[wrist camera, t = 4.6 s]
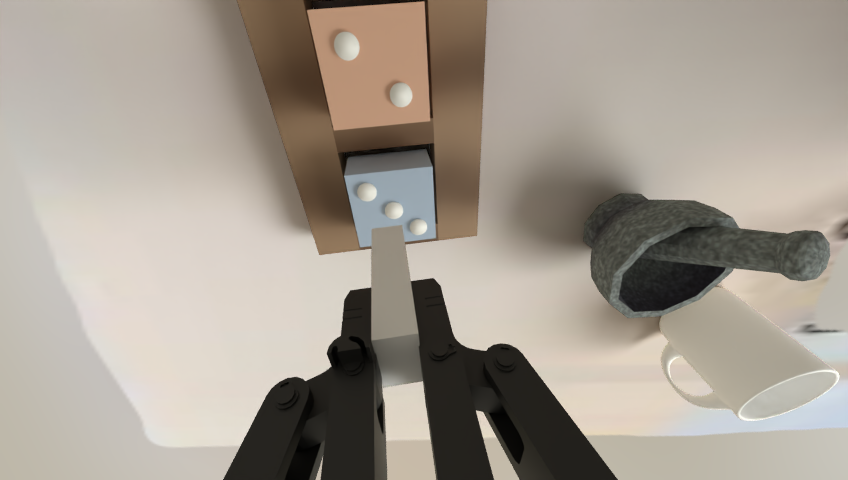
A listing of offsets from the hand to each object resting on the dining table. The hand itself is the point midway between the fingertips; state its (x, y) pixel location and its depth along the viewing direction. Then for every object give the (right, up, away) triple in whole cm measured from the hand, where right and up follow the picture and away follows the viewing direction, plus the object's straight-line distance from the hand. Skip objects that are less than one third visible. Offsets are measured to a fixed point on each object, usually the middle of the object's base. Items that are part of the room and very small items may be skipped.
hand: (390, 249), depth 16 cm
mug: (+33, -9, +23) cm, 41 cm away
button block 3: (0, +4, +6) cm, 7 cm away
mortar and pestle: (+19, +3, +12) cm, 23 cm away
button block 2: (-1, +10, +1) cm, 10 cm away
